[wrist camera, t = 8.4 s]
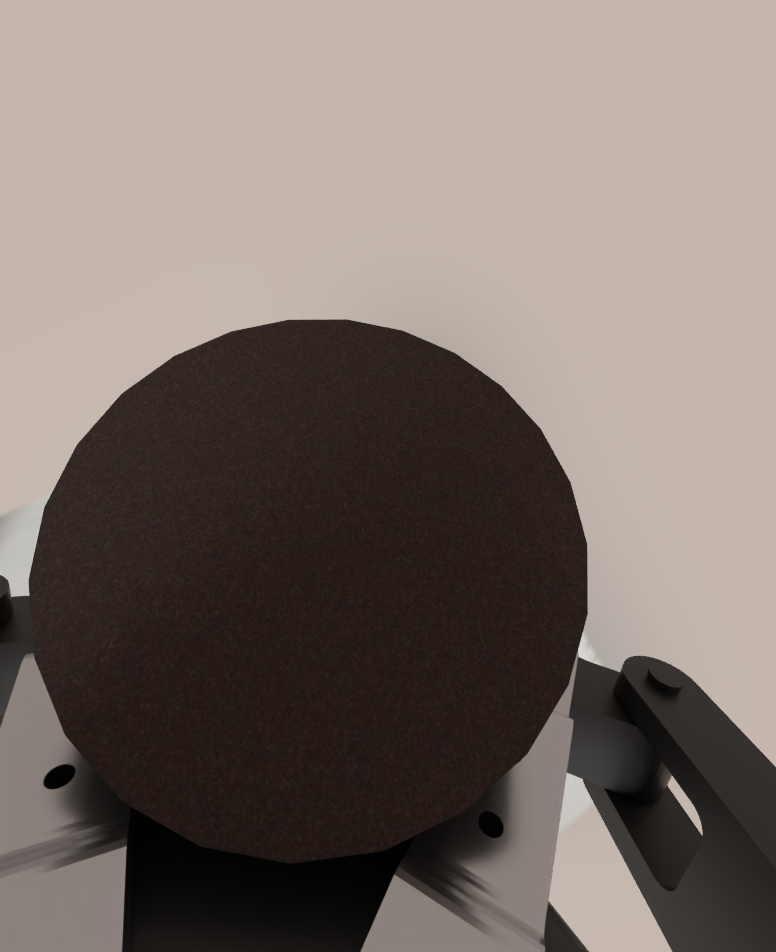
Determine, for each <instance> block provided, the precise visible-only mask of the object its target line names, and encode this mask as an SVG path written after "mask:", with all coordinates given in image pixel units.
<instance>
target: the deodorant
mask: <svg viewBox="0 0 776 952" xmlns="http://www.w3.org/2000/svg"><path fill="white" fill-rule="evenodd" d="M29 594H30V609H31V622H32V634H33V647H34V658H35V661H36V663H37V666H38V669H39V671H40V674H41V676H42V679H43V681H44V684H45V686H46V689H47V691H48V694H49V696H50V699H51V701H52V704H53V706H54V709H55V711H56V714H57V716H58V719H59V722H60V724H61V727H62V729H63V732H64V734H65V736H66V737H67V738H68V739H69V741H70V742H71V743H72V744H73V745H74V746H75V748H76V749H77V750H78V751H79V752H80V753H81V755H82V756H83V757H84V758H85V759H86V760H87V762H88V763H89V764H90V765H91V766H92V767H93V769H94V770H95V771H96V772H97V773H98V774H99V776H100V777H101V778H102V779H103V780H104V781H105V783H106V784H107V785H108V786H109V787H110V788H111V789H112V791H113V792H114V793H115V794H116V795H117V796H118V798H119V799H120V800H121V801H122V802H124V803H126V804H127V805H129V806H131V807H132V808H134V809H136V810H138V811H139V812H141V813H143V814H145V815H146V816H148V817H150V818H151V819H153V820H155V821H157V822H158V823H160V824H162V825H164V826H165V827H167V828H169V829H171V830H172V831H174V832H176V833H177V834H179V835H181V836H183V837H184V838H186V839H188V840H190V841H191V842H193V843H195V844H196V845H198V846H200V847H205V848H210V849H216V850H221V851H226V852H231V853H237V854H242V855H247V856H253V857H258V858H263V859H268V860H274V861H279V862H284V863H290V864H293V863H301V862H308V861H315V860H322V859H330V858H337V857H344V856H351V855H359V854H366V853H373V852H380V851H384V850H386V849H389V848H391V847H393V846H395V845H397V844H399V843H401V842H403V841H405V840H407V839H409V838H411V837H413V836H415V835H417V834H419V833H422V832H424V831H426V830H428V829H430V828H432V827H434V826H436V825H438V824H440V823H442V822H444V821H446V820H448V819H450V818H452V817H454V816H457V815H459V814H461V813H463V812H465V811H466V810H467V809H468V808H469V807H470V806H471V805H472V804H473V803H475V802H476V801H477V800H478V799H479V798H480V797H481V796H482V795H483V794H484V793H485V792H486V791H488V790H489V789H490V788H491V787H492V786H493V785H494V784H495V783H496V782H497V781H498V780H500V779H501V778H502V777H503V776H504V775H505V774H506V773H507V772H508V771H509V770H510V769H512V768H513V767H514V766H515V765H516V764H517V763H518V762H519V761H520V760H521V759H522V758H523V757H525V756H526V755H527V754H528V752H529V751H530V749H531V747H532V745H533V744H534V742H535V740H536V739H537V737H538V735H539V734H540V732H541V730H542V729H543V727H544V725H545V724H546V722H547V720H548V719H549V717H550V715H551V714H552V712H553V710H554V709H555V707H556V705H557V704H558V702H559V700H560V699H561V697H562V695H563V694H564V692H565V690H566V689H567V687H568V685H569V682H570V678H571V674H572V670H573V666H574V663H575V659H576V655H577V651H578V648H579V644H580V640H581V636H582V633H583V629H584V625H585V621H586V617H587V614H588V611H587V542H586V539H585V535H584V531H583V527H582V524H581V520H580V516H579V513H578V509H577V505H576V501H575V498H574V494H573V490H572V487H571V483H570V481H569V479H568V477H567V476H566V474H565V472H564V470H563V468H562V466H561V465H560V463H559V461H558V459H557V457H556V456H555V454H554V452H553V450H552V449H551V447H550V445H549V443H548V441H547V439H546V438H545V436H544V434H543V432H542V431H541V429H540V428H539V427H538V426H537V425H536V423H535V422H534V421H533V420H532V419H531V418H530V417H529V416H528V415H527V414H526V412H525V411H524V410H523V409H522V408H521V407H520V406H519V405H518V404H517V403H516V401H515V400H514V399H513V398H512V397H511V396H510V395H509V394H508V393H507V392H506V391H505V389H504V388H502V386H501V385H499V384H498V383H496V382H495V381H494V380H492V379H491V378H489V377H488V376H486V375H485V374H484V373H482V372H481V371H479V370H478V369H477V368H475V367H474V366H472V365H471V364H469V363H468V362H467V361H465V360H464V359H462V358H461V357H460V356H458V355H457V354H455V353H453V352H451V351H449V350H446V349H444V348H441V347H439V346H437V345H435V344H432V343H430V342H428V341H425V340H423V339H421V338H418V337H416V336H414V335H411V334H409V333H407V332H404V331H401V330H396V329H391V328H386V327H381V326H376V325H371V324H366V323H361V322H356V321H351V320H286V321H281V322H277V323H271V324H267V325H262V326H256V327H252V328H247V329H242V330H237V331H232V332H229V333H227V334H224V335H222V336H220V337H218V338H215V339H213V340H211V341H208V342H206V343H204V344H202V345H199V346H197V347H195V348H192V349H190V350H187V351H185V352H183V353H181V354H178V355H176V356H174V357H172V358H171V359H170V360H168V361H167V362H165V363H164V364H163V365H161V366H160V367H159V368H157V369H156V370H154V371H153V372H152V373H150V374H149V375H147V376H146V377H145V378H143V379H142V380H140V381H139V382H138V383H136V384H135V385H133V386H132V387H131V388H129V389H128V390H126V391H125V392H124V393H122V394H121V395H120V397H119V398H118V399H117V400H116V401H115V402H114V403H113V404H112V406H111V407H110V408H109V409H108V410H107V411H106V412H105V414H104V415H103V416H102V417H101V418H100V419H99V420H98V422H97V423H96V424H95V425H94V426H93V427H92V428H91V429H90V431H89V432H88V433H87V434H86V435H85V436H84V437H83V439H82V440H81V441H80V442H79V443H78V444H77V446H76V448H75V450H74V452H73V454H72V456H71V458H70V459H69V461H68V463H67V465H66V467H65V469H64V471H63V473H62V475H61V477H60V479H59V480H58V482H57V484H56V487H55V488H54V490H53V492H52V494H51V496H50V498H49V500H48V502H47V503H46V505H45V508H44V512H43V517H42V521H41V526H40V530H39V535H38V539H37V544H36V549H35V553H34V558H33V562H32V567H31V571H30V576H29Z"/></svg>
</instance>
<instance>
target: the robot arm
mask: <svg viewBox="0 0 776 952" xmlns="http://www.w3.org/2000/svg"><path fill="white" fill-rule="evenodd" d="M566 773H570V774H572V775H575V776H577V777H579V778H582V779H583V782H584V784H585V787H586V789H587V791H588V793H589V794H590V796H591V798H592V800H593V802H594V804H595V806H596V808H597V809H598V811H599V813H600V815H601V817H602V819H603V821H604V823H605V825H606V826H607V828H608V830H609V832H610V834H611V836H612V838H613V840H614V842H615V844H616V846H617V847H618V849H619V851H620V853H621V855H622V857H623V859H624V861H625V862H626V864H627V866H628V868H629V870H630V872H631V874H632V876H633V878H634V880H635V881H636V883H637V885H638V887H639V889H640V891H641V893H642V895H643V897H644V898H645V900H646V902H647V904H648V906H649V908H650V910H651V912H652V914H653V915H654V917H655V919H656V921H657V923H658V925H659V927H660V929H661V930H662V932H663V934H664V936H665V938H666V940H667V942H668V944H669V946H670V948H671V949H672V951H673V952H776V767H775V766H774V765H773V764H772V763H771V762H770V761H769V760H768V759H767V758H766V757H765V755H764V754H763V753H762V752H761V751H760V750H759V749H758V748H757V747H756V746H755V745H754V744H753V743H752V742H751V741H750V740H749V739H748V737H747V736H746V735H745V734H744V733H743V732H742V731H741V730H740V729H739V728H738V727H737V726H736V725H735V724H734V723H733V722H732V721H731V720H730V719H729V717H728V716H727V715H726V714H725V713H724V712H723V711H722V710H721V709H720V708H719V707H718V706H717V705H716V704H715V703H714V702H713V701H712V700H711V699H710V698H709V697H708V695H707V694H706V693H705V692H704V691H703V690H702V689H701V688H700V687H699V686H698V685H697V684H696V683H695V682H694V681H693V680H692V679H691V678H690V677H688V676H687V675H686V674H685V673H683V672H682V671H680V670H679V669H677V668H675V667H673V666H672V665H670V664H668V663H666V662H663V661H661V660H658V659H655V658H651V657H646V656H633V657H630V658H628V659H626V660H625V662H624V664H623V666H622V669H621V672H617V671H614V670H611V669H609V668H606V667H603V666H600V665H597V664H594V663H591V662H589V661H586V660H584V659H582V658H580V657H578V651H577V655H576V659H575V663H574V666H573V670H572V674H571V678H570V682H569V685H568V687H567V689H566V690H565V692H564V694H563V695H562V697H561V699H560V700H559V702H558V704H557V705H556V707H555V709H554V710H553V712H552V714H551V715H550V717H549V719H548V720H547V722H546V724H545V725H544V727H543V729H542V730H541V732H540V734H539V735H538V737H537V739H536V740H535V742H534V744H533V745H532V747H531V749H530V751H529V752H528V754H527V755H526V756H525V757H523V758H522V759H521V760H520V761H519V762H518V763H517V764H516V765H515V766H514V767H513V768H512V769H510V770H509V771H508V772H507V773H506V774H505V775H504V776H503V777H502V778H501V779H500V780H498V781H497V782H496V783H495V784H494V785H493V786H492V787H491V788H490V789H489V790H488V791H486V792H485V793H484V794H483V795H482V796H481V797H480V798H479V799H478V800H477V801H476V802H475V803H473V804H472V805H471V806H470V807H469V808H468V809H467V810H466V811H465V812H463V813H461V814H459V815H457V816H454V817H452V818H450V819H448V820H446V821H444V822H442V823H440V824H438V825H436V826H434V827H432V828H430V829H428V830H426V831H424V832H422V833H419V834H417V835H415V836H413V837H411V838H409V839H407V840H405V841H403V842H401V843H399V844H397V845H395V846H393V847H391V848H389V849H386V850H384V851H380V852H373V853H366V854H359V855H351V856H344V857H337V858H330V859H322V860H315V861H308V862H301V863H293V864H290V863H284V862H279V861H274V860H268V859H263V858H258V857H253V856H247V855H242V854H237V853H231V852H226V851H221V850H216V849H210V848H205V847H200V846H198V845H196V844H195V843H193V842H191V841H190V840H188V839H186V838H184V837H183V836H181V835H179V834H177V833H176V832H174V831H172V830H171V829H169V828H167V827H165V826H164V825H162V824H160V823H158V822H157V821H155V820H153V819H151V818H150V817H148V816H146V815H145V814H143V813H141V812H139V811H138V810H136V809H134V808H132V807H131V806H129V805H127V804H126V803H124V802H122V801H121V800H120V799H119V798H118V796H117V795H116V794H115V793H114V792H113V791H112V789H111V788H110V787H109V786H108V785H107V784H106V783H105V781H104V780H103V779H102V778H101V777H100V776H99V774H98V773H97V772H96V771H95V770H94V769H93V767H92V766H91V765H90V764H89V763H88V762H87V760H86V759H85V758H84V757H83V756H82V755H81V753H80V752H79V751H78V750H77V749H76V748H75V746H74V745H73V744H72V743H71V742H70V741H69V739H68V738H67V737H66V736H65V734H64V732H63V729H62V727H61V724H60V722H59V719H58V716H57V714H56V711H55V709H54V706H53V704H52V701H51V699H50V696H49V694H48V691H47V689H46V686H45V684H44V681H43V679H42V676H41V674H40V671H39V669H38V666H37V663H36V661H35V658H34V647H33V634H32V622H31V609H30V596H18V597H11V593H10V587H9V583H8V580H7V579H6V578H5V577H3V576H1V575H0V952H589V951H588V950H587V949H586V947H585V946H584V945H583V944H582V942H581V941H580V940H579V939H578V937H577V936H576V935H575V934H574V932H573V931H572V930H571V929H570V927H569V926H568V925H567V924H566V922H565V921H564V920H563V919H562V917H561V916H560V915H559V914H558V912H557V911H556V910H555V909H554V907H553V906H552V905H551V904H550V902H549V901H548V899H549V892H550V885H551V878H552V871H553V864H554V857H555V850H556V843H557V836H558V829H559V822H560V815H561V808H562V801H563V794H564V787H565V780H566ZM671 776H673V777H674V779H675V780H676V781H677V783H678V784H679V785H680V787H681V788H682V790H683V791H684V792H685V794H686V795H687V797H688V798H689V799H690V801H691V802H692V804H693V805H694V807H695V809H696V811H697V812H698V815H699V817H700V820H701V824H702V830H703V836H702V835H701V834H700V832H699V831H698V829H697V828H696V826H695V825H694V824H693V822H692V821H691V819H690V818H689V816H688V815H687V813H686V812H685V811H684V809H683V808H682V806H681V805H680V803H679V802H678V800H677V799H676V798H675V796H674V795H673V793H672V792H671V791H670V789H669V788H668V786H667V784H668V782H669V780H670V778H671Z"/></svg>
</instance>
